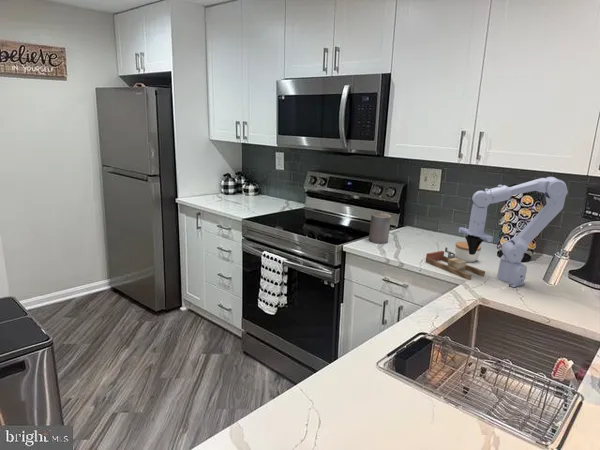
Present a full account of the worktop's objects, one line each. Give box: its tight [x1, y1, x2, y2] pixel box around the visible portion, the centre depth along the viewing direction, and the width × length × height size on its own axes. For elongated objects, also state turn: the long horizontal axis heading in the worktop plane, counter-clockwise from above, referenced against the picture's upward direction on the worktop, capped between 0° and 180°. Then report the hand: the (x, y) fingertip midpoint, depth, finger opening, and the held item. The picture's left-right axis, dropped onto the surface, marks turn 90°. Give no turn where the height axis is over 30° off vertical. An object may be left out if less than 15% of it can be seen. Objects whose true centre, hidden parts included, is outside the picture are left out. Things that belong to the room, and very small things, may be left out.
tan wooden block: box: [447, 257, 468, 272], centre depth 179 cm, size 5×5×4 cm
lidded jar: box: [454, 241, 482, 263], centre depth 192 cm, size 11×11×9 cm
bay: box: [425, 250, 486, 281], centre depth 180 cm, size 22×10×5 cm, turn 33°
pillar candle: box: [368, 212, 392, 245], centre depth 215 cm, size 10×10×15 cm
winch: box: [444, 247, 456, 259], centre depth 191 cm, size 5×3×6 cm, turn 33°
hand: (472, 254), depth 173 cm, fingers closed
